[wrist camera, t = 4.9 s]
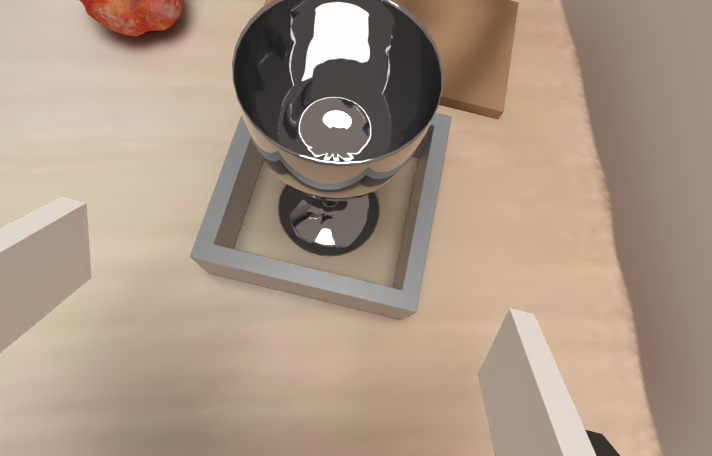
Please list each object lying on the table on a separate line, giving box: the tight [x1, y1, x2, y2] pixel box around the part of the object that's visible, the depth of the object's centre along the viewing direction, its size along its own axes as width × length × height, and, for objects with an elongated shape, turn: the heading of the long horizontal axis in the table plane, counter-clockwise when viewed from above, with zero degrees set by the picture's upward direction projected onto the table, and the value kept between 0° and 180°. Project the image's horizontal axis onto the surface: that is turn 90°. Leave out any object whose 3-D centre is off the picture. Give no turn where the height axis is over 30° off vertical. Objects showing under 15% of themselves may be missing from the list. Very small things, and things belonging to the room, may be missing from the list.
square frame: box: [190, 112, 452, 320], centre depth 28 cm, size 13×13×4 cm
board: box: [264, 0, 518, 119], centre depth 35 cm, size 20×11×1 cm, turn 77°
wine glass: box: [232, 0, 443, 256], centre depth 23 cm, size 8×8×15 cm
